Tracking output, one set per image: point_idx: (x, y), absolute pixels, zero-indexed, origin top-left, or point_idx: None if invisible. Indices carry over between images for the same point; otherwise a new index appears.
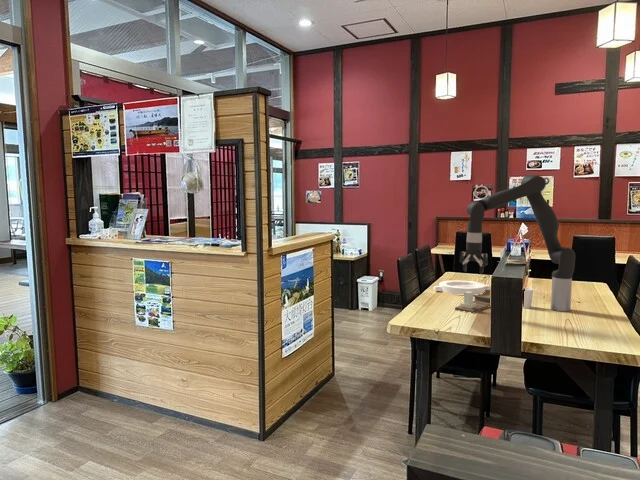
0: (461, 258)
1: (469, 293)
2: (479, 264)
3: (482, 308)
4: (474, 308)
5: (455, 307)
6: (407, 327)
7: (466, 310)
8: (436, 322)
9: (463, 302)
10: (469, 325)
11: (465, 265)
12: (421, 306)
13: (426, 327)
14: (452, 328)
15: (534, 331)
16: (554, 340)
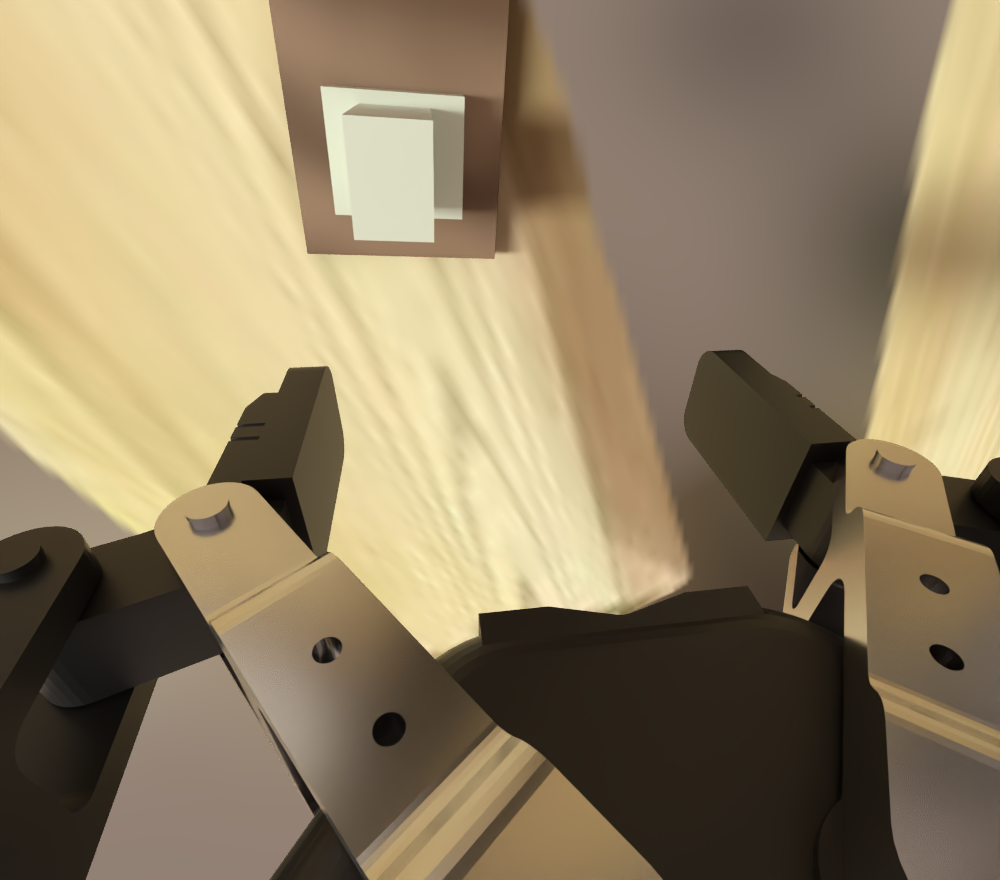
0: (81, 836)
1: (431, 239)
2: (790, 591)
3: (507, 9)
4: (469, 158)
5: (313, 253)
6: None
7: (432, 254)
8: (430, 571)
9: (334, 160)
10: (587, 513)
11: (320, 546)
12: (20, 341)
13: (444, 638)
14: (539, 589)
15: (912, 395)
16: (971, 462)
